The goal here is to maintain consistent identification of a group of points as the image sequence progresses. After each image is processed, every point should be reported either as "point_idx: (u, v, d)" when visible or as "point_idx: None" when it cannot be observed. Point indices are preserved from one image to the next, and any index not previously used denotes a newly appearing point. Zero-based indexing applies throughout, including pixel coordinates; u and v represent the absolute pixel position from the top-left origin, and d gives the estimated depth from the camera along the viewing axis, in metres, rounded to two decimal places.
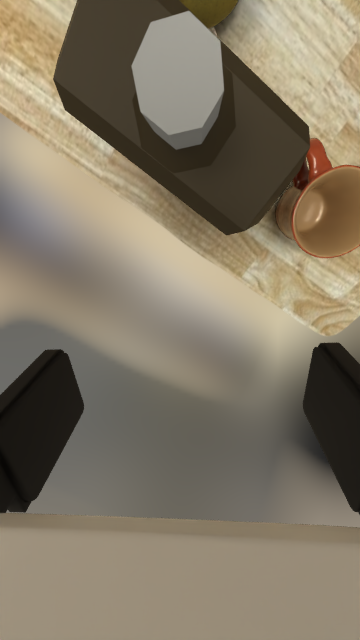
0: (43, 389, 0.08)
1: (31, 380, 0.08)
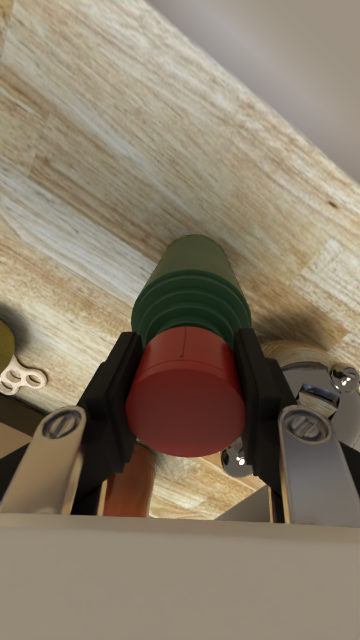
0: (131, 365, 0.09)
1: (121, 356, 0.09)
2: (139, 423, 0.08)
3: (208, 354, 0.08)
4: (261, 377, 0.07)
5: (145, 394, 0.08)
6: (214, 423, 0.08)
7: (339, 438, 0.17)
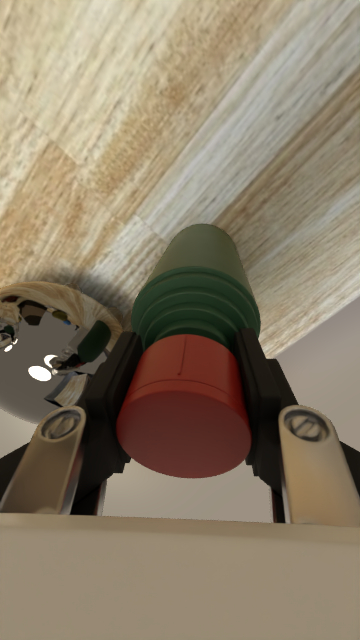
0: (131, 365, 0.09)
1: (121, 356, 0.09)
2: (132, 443, 0.07)
3: (210, 371, 0.07)
4: (261, 377, 0.07)
5: (137, 415, 0.07)
6: (215, 447, 0.07)
7: None
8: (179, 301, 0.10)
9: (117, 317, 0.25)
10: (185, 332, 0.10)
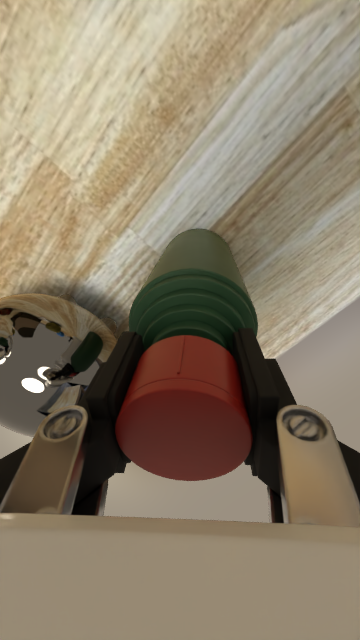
0: (132, 364, 0.09)
1: (122, 356, 0.09)
2: (132, 445, 0.07)
3: (209, 370, 0.07)
4: (260, 377, 0.07)
5: (137, 415, 0.07)
6: (215, 447, 0.07)
7: None
8: (177, 303, 0.10)
9: (111, 327, 0.25)
10: (183, 333, 0.10)
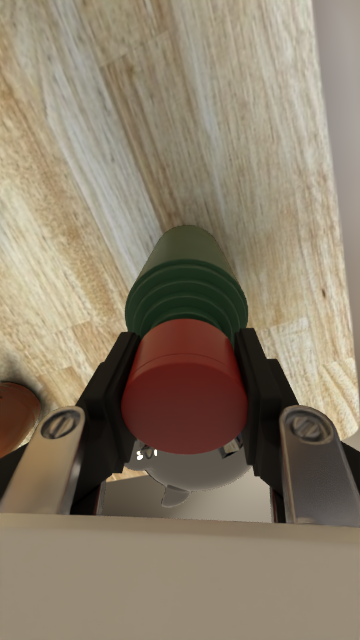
0: (130, 365, 0.09)
1: (120, 356, 0.09)
2: (202, 444, 0.08)
3: (127, 382, 0.08)
4: (262, 377, 0.07)
5: (163, 442, 0.08)
6: (185, 390, 0.07)
7: (231, 472, 0.20)
8: (140, 324, 0.12)
9: None
10: None
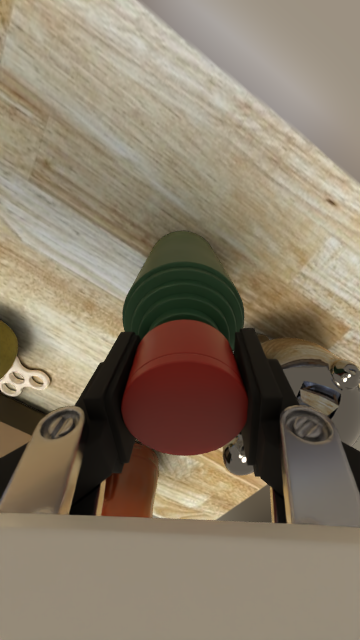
0: (130, 365, 0.09)
1: (120, 356, 0.09)
2: (229, 392, 0.07)
3: None
4: (263, 377, 0.07)
5: (231, 424, 0.08)
6: (154, 417, 0.08)
7: (341, 434, 0.17)
8: None
9: None
10: None
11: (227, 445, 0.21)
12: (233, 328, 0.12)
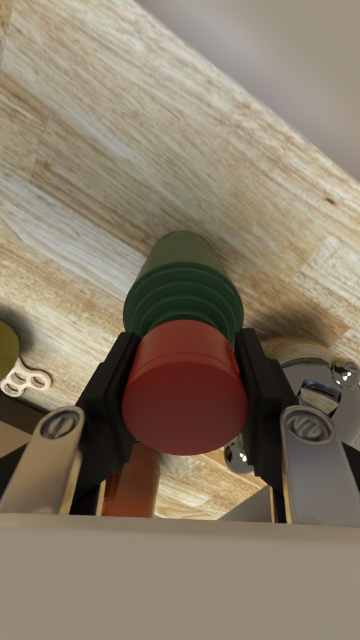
0: (130, 365, 0.09)
1: (120, 356, 0.09)
2: (148, 384, 0.07)
3: None
4: (263, 377, 0.07)
5: (192, 374, 0.07)
6: (195, 434, 0.08)
7: (342, 433, 0.17)
8: None
9: None
10: None
11: (228, 444, 0.21)
12: (233, 326, 0.12)
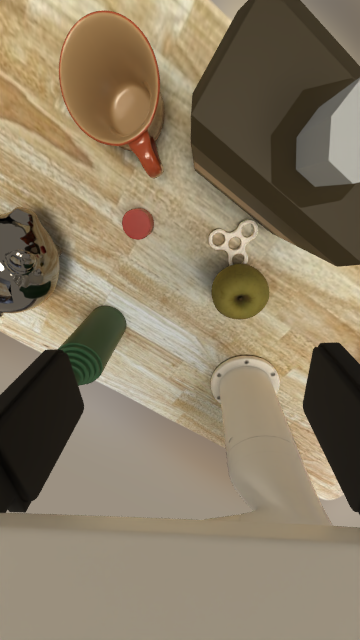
0: (43, 389, 0.08)
1: (31, 380, 0.08)
2: (127, 215, 0.33)
3: (151, 221, 0.34)
4: None
5: (136, 212, 0.33)
6: (139, 231, 0.34)
7: None
8: (88, 364, 0.31)
9: None
10: (79, 373, 0.30)
11: (33, 264, 0.30)
12: None
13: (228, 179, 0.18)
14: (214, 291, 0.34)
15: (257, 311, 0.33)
